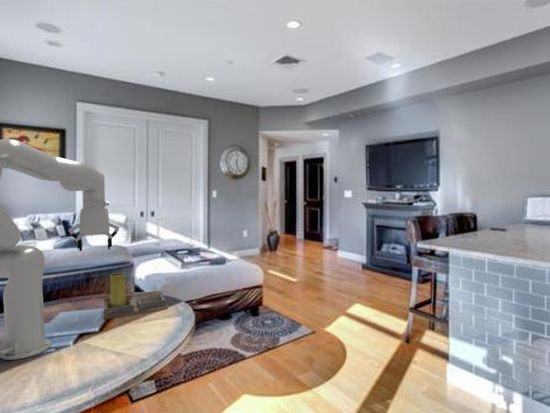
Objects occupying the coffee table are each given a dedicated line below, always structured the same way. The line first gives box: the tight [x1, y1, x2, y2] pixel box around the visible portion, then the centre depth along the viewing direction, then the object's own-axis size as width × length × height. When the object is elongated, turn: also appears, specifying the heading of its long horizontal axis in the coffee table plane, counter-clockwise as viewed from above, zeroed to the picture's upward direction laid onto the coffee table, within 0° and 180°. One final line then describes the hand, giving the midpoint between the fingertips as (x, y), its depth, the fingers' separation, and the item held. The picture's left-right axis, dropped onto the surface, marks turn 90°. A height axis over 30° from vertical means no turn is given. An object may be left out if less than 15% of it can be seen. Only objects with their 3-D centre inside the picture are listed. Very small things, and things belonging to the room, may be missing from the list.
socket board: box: [102, 289, 168, 320], centre depth 141 cm, size 12×23×6 cm, turn 117°
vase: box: [109, 272, 127, 308], centre depth 138 cm, size 6×6×14 cm
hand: (95, 249), depth 134 cm, fingers open, 9 cm apart
